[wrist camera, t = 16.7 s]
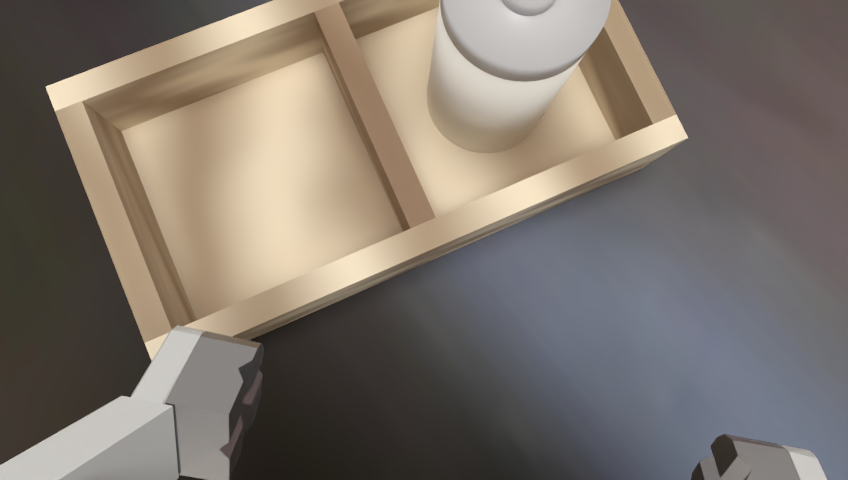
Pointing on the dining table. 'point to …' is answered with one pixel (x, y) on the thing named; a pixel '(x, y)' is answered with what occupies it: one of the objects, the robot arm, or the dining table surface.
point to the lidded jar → (504, 65)
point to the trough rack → (323, 158)
